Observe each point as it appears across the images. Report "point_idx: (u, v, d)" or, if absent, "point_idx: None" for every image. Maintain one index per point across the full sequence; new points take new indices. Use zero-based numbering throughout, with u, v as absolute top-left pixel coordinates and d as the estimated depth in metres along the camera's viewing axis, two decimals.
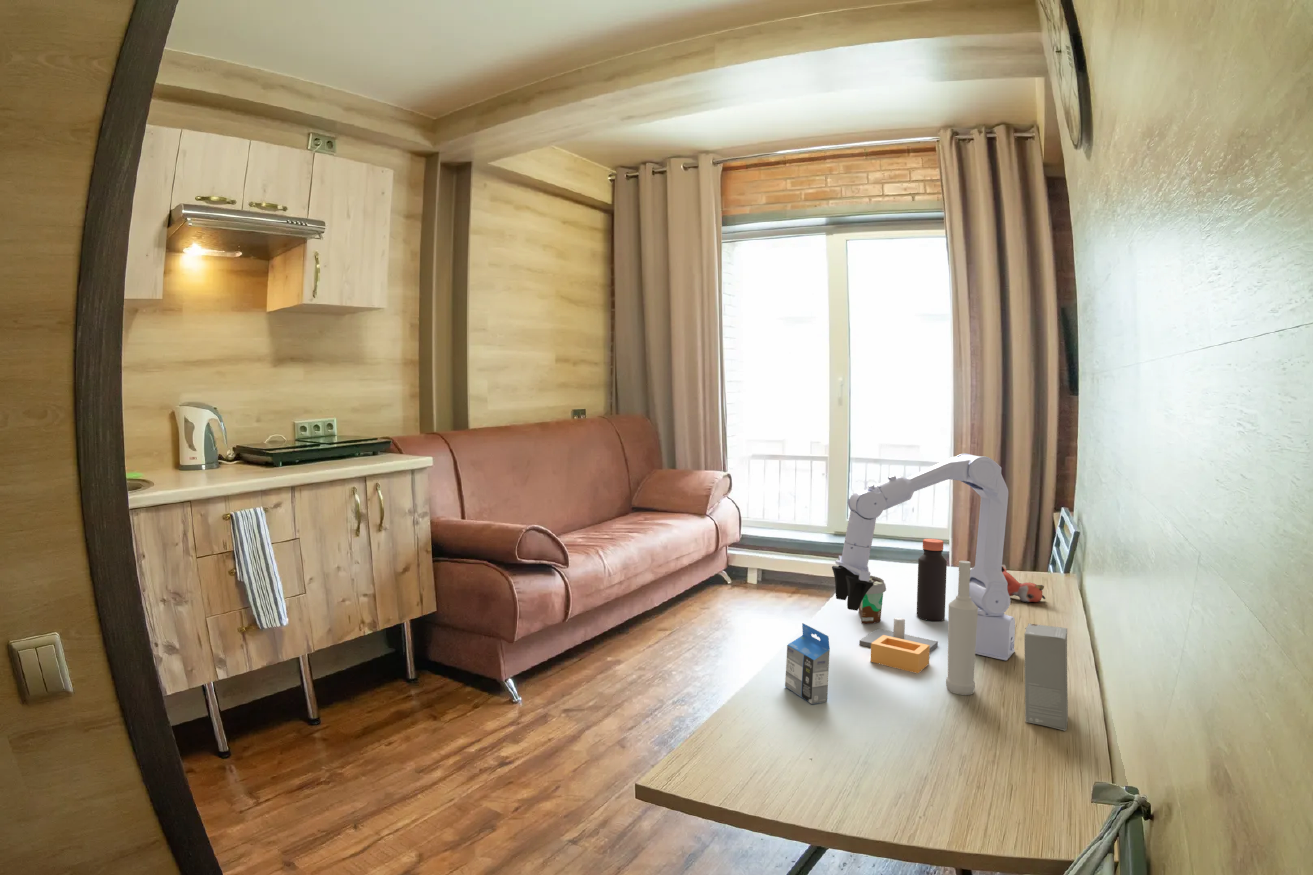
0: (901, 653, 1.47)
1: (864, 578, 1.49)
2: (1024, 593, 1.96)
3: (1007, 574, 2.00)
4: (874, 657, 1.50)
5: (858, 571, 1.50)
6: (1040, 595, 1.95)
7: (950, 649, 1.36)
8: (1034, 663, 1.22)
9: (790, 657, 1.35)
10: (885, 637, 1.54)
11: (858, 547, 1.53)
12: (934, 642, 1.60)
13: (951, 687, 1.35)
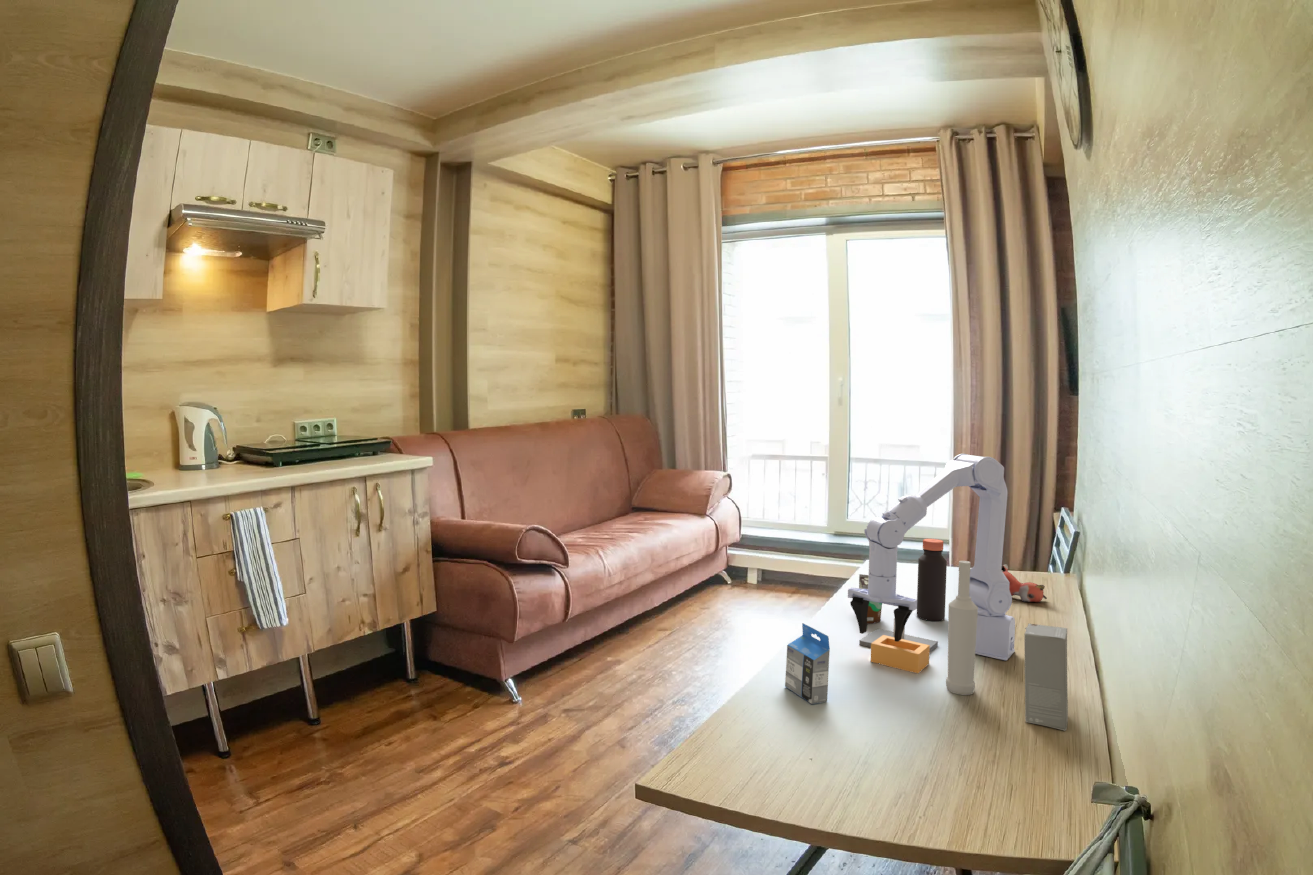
0: (901, 653, 1.47)
1: (915, 607, 1.48)
2: (1024, 592, 1.96)
3: (1008, 574, 2.01)
4: (874, 657, 1.50)
5: (907, 602, 1.48)
6: (1041, 595, 1.95)
7: (950, 649, 1.36)
8: (1034, 663, 1.22)
9: (790, 657, 1.35)
10: (885, 637, 1.54)
11: (893, 578, 1.50)
12: (934, 642, 1.60)
13: (951, 687, 1.35)
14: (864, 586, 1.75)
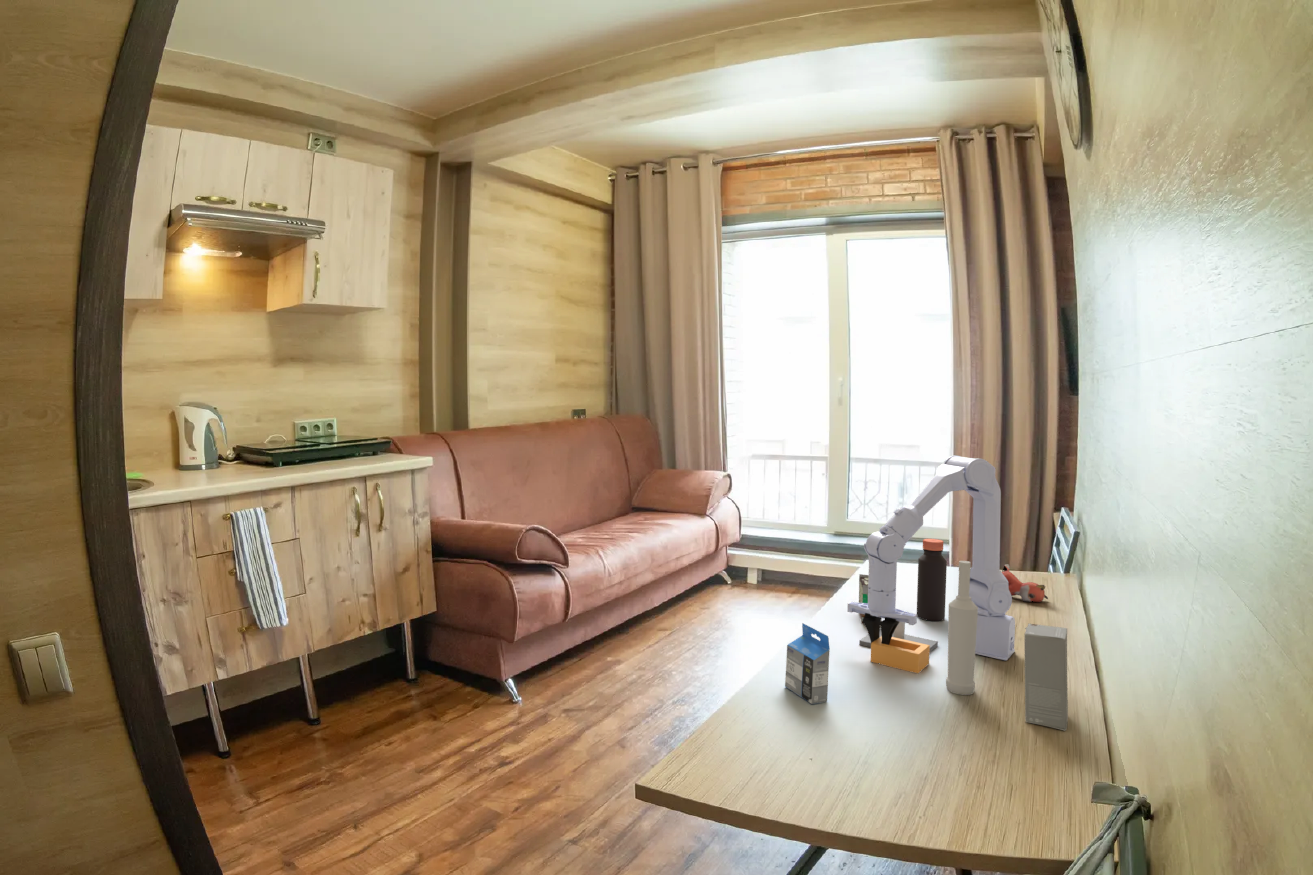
0: (901, 653, 1.47)
1: (915, 622, 1.48)
2: (1025, 592, 1.96)
3: (1009, 573, 2.01)
4: (874, 657, 1.50)
5: (907, 617, 1.48)
6: (1042, 595, 1.95)
7: (950, 649, 1.36)
8: (1034, 663, 1.22)
9: (790, 657, 1.35)
10: None
11: (893, 592, 1.50)
12: (934, 642, 1.60)
13: (951, 687, 1.35)
14: (864, 586, 1.75)
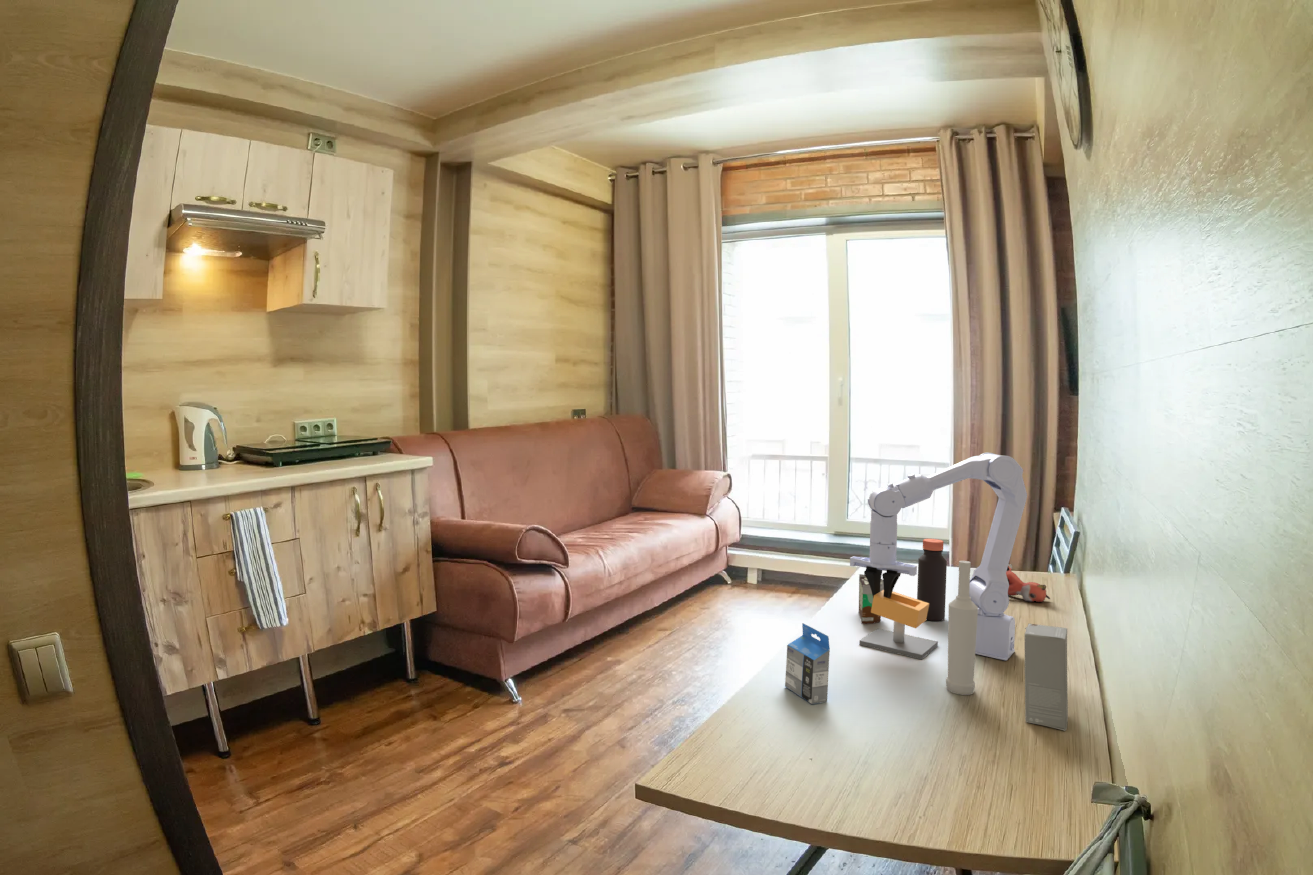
0: (902, 608, 1.53)
1: (915, 573, 1.54)
2: (1026, 592, 1.96)
3: (1011, 573, 2.01)
4: (875, 609, 1.56)
5: (907, 568, 1.54)
6: (1043, 595, 1.95)
7: (950, 649, 1.36)
8: (1034, 663, 1.22)
9: (790, 657, 1.35)
10: None
11: (894, 545, 1.56)
12: (934, 642, 1.60)
13: (951, 687, 1.35)
14: (864, 586, 1.75)
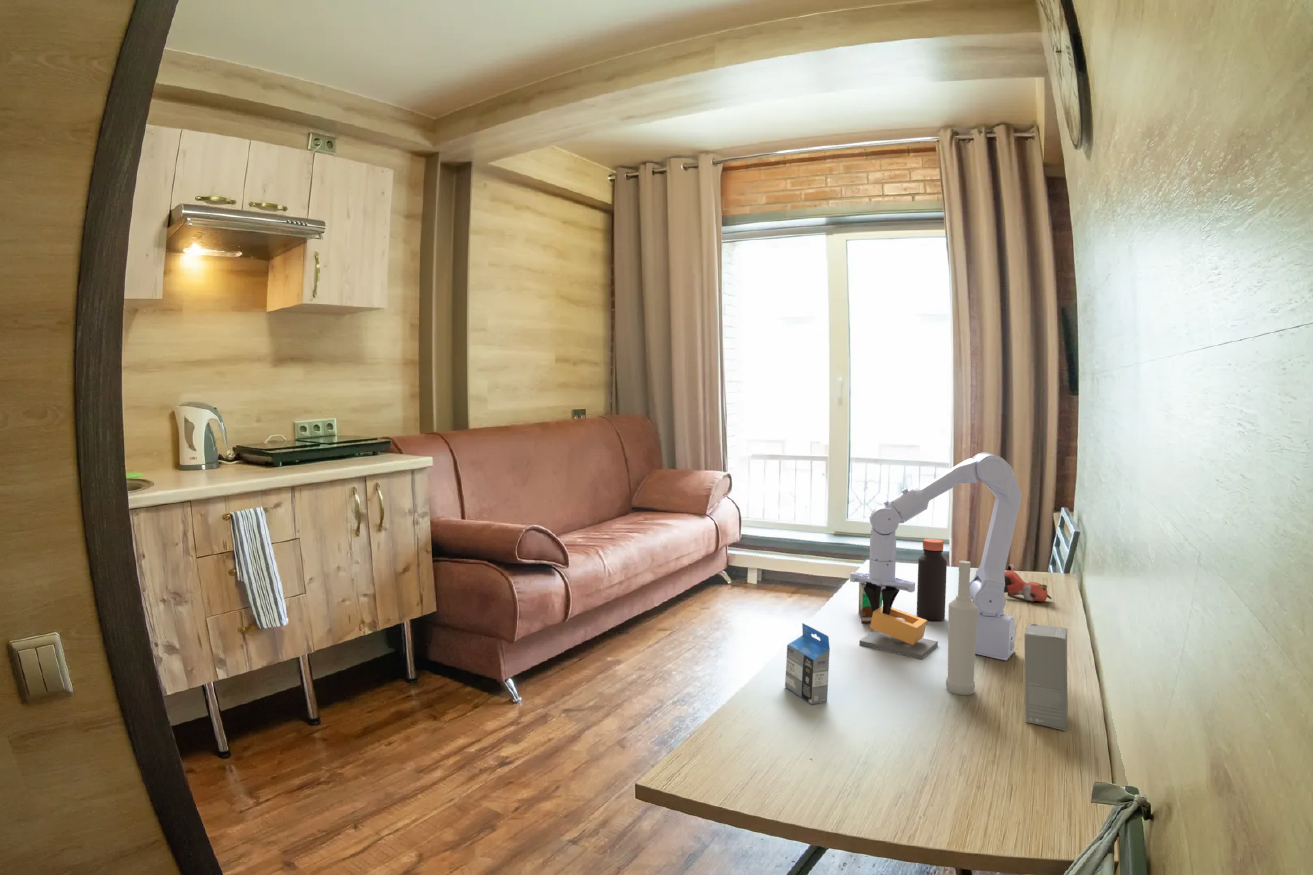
0: (900, 624, 1.57)
1: (913, 589, 1.58)
2: (1027, 592, 1.97)
3: (1012, 573, 2.02)
4: (874, 624, 1.61)
5: (906, 585, 1.58)
6: (1044, 595, 1.95)
7: (950, 649, 1.36)
8: (1034, 663, 1.22)
9: (790, 657, 1.35)
10: None
11: (892, 562, 1.60)
12: (934, 642, 1.60)
13: (951, 687, 1.35)
14: (864, 586, 1.75)
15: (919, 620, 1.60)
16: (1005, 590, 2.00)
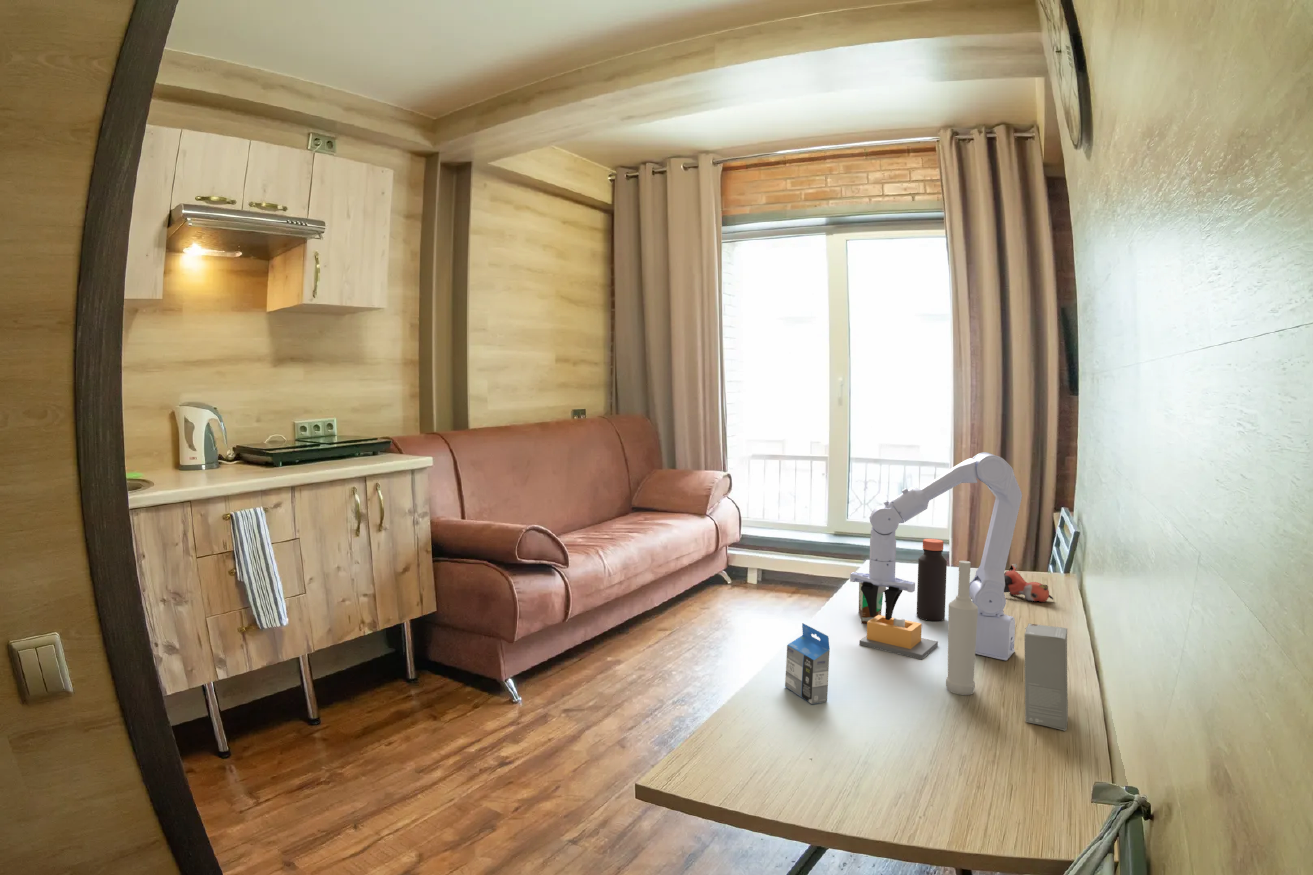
0: (895, 630, 1.58)
1: (913, 589, 1.58)
2: (1028, 592, 1.97)
3: (1014, 573, 2.02)
4: (870, 634, 1.61)
5: (906, 585, 1.58)
6: (1045, 595, 1.95)
7: (950, 649, 1.36)
8: (1034, 663, 1.22)
9: (790, 657, 1.35)
10: (880, 616, 1.66)
11: (892, 562, 1.60)
12: (934, 642, 1.60)
13: (951, 687, 1.35)
14: None
15: (913, 624, 1.60)
16: (1006, 590, 2.01)
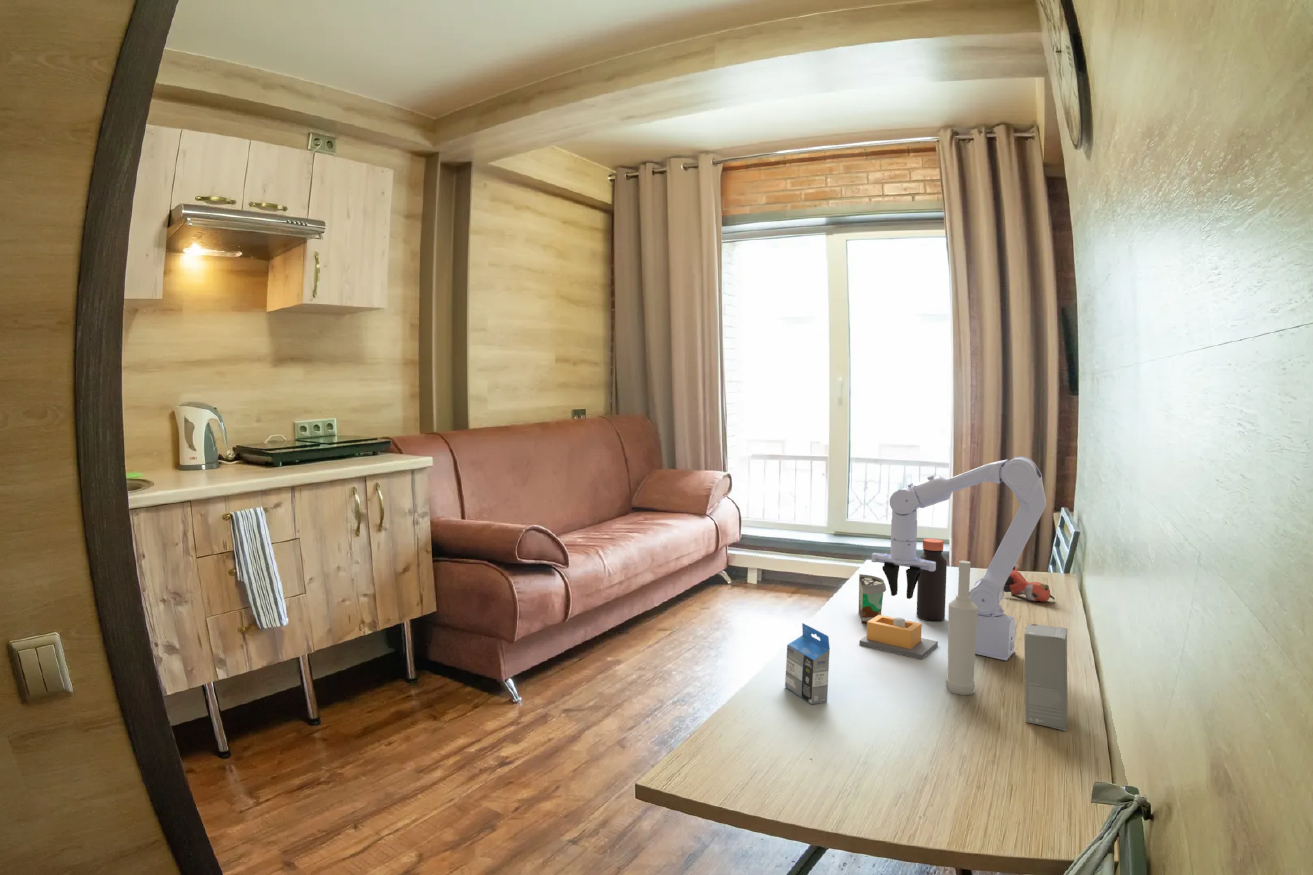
0: (895, 630, 1.58)
1: (934, 568, 1.62)
2: (1029, 591, 1.97)
3: (1016, 573, 2.02)
4: (870, 634, 1.61)
5: (927, 564, 1.62)
6: (1046, 595, 1.95)
7: (950, 649, 1.36)
8: (1034, 663, 1.22)
9: (790, 657, 1.35)
10: (880, 616, 1.66)
11: (914, 542, 1.64)
12: (934, 642, 1.60)
13: (951, 687, 1.35)
14: (864, 586, 1.75)
15: (913, 624, 1.60)
16: (1007, 589, 2.01)
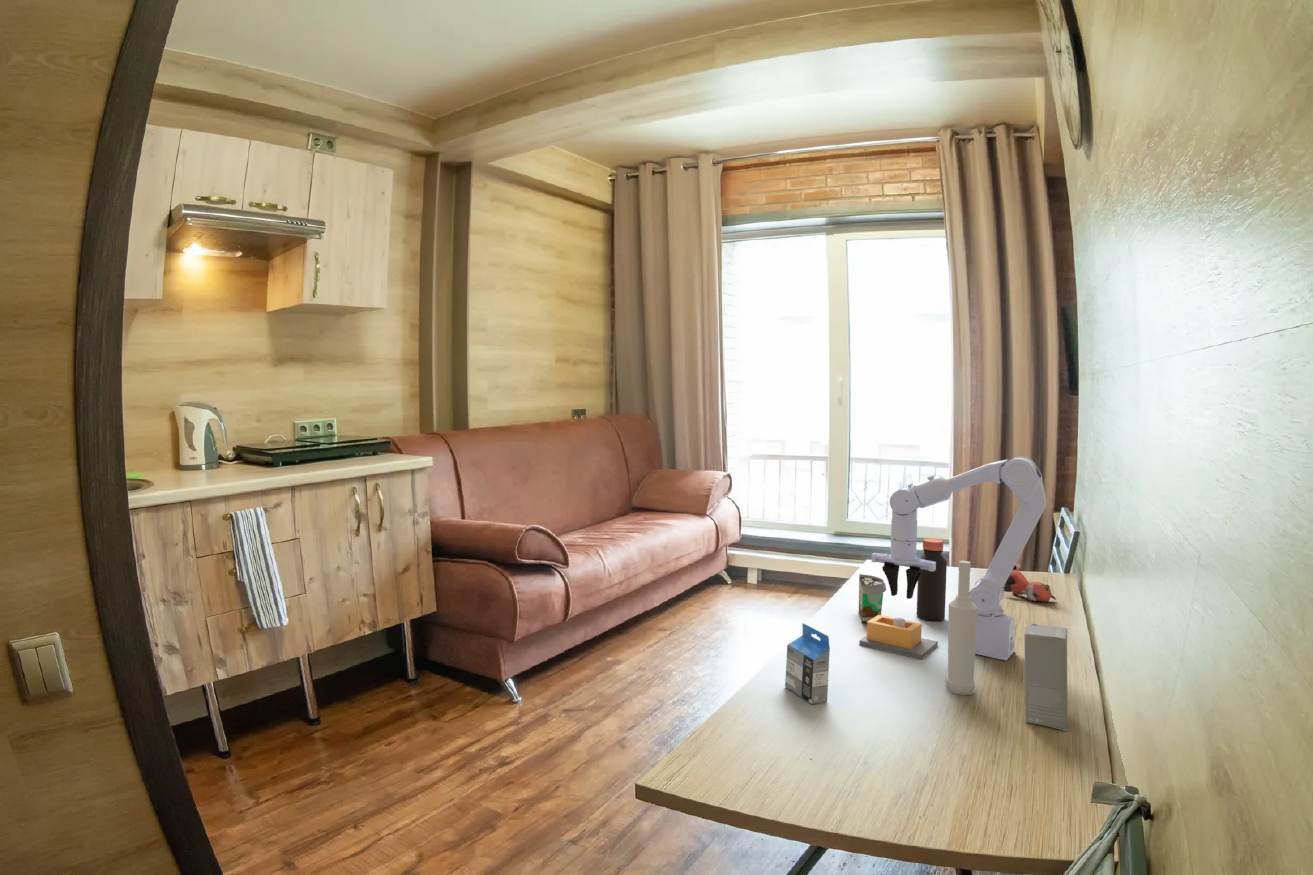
0: (895, 630, 1.58)
1: (934, 568, 1.62)
2: (1030, 591, 1.97)
3: (1017, 573, 2.02)
4: (870, 634, 1.61)
5: (927, 564, 1.62)
6: (1047, 595, 1.95)
7: (950, 649, 1.36)
8: (1034, 663, 1.22)
9: (790, 657, 1.35)
10: (880, 616, 1.66)
11: (914, 542, 1.64)
12: (934, 642, 1.60)
13: (951, 687, 1.35)
14: (864, 586, 1.75)
15: (913, 624, 1.60)
16: (1008, 589, 2.01)
